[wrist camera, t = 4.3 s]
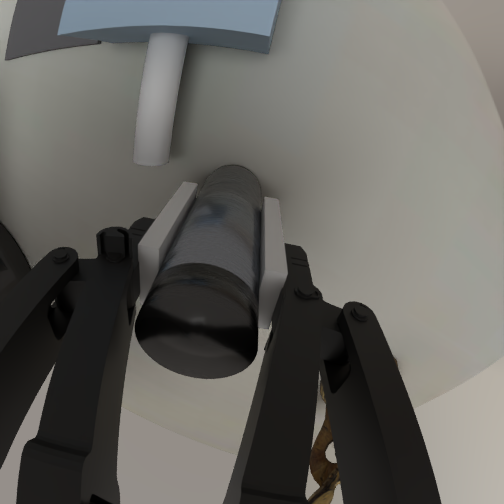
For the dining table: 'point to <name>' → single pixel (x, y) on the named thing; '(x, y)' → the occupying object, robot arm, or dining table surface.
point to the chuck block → (168, 48)
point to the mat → (39, 29)
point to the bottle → (209, 283)
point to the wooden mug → (324, 463)
